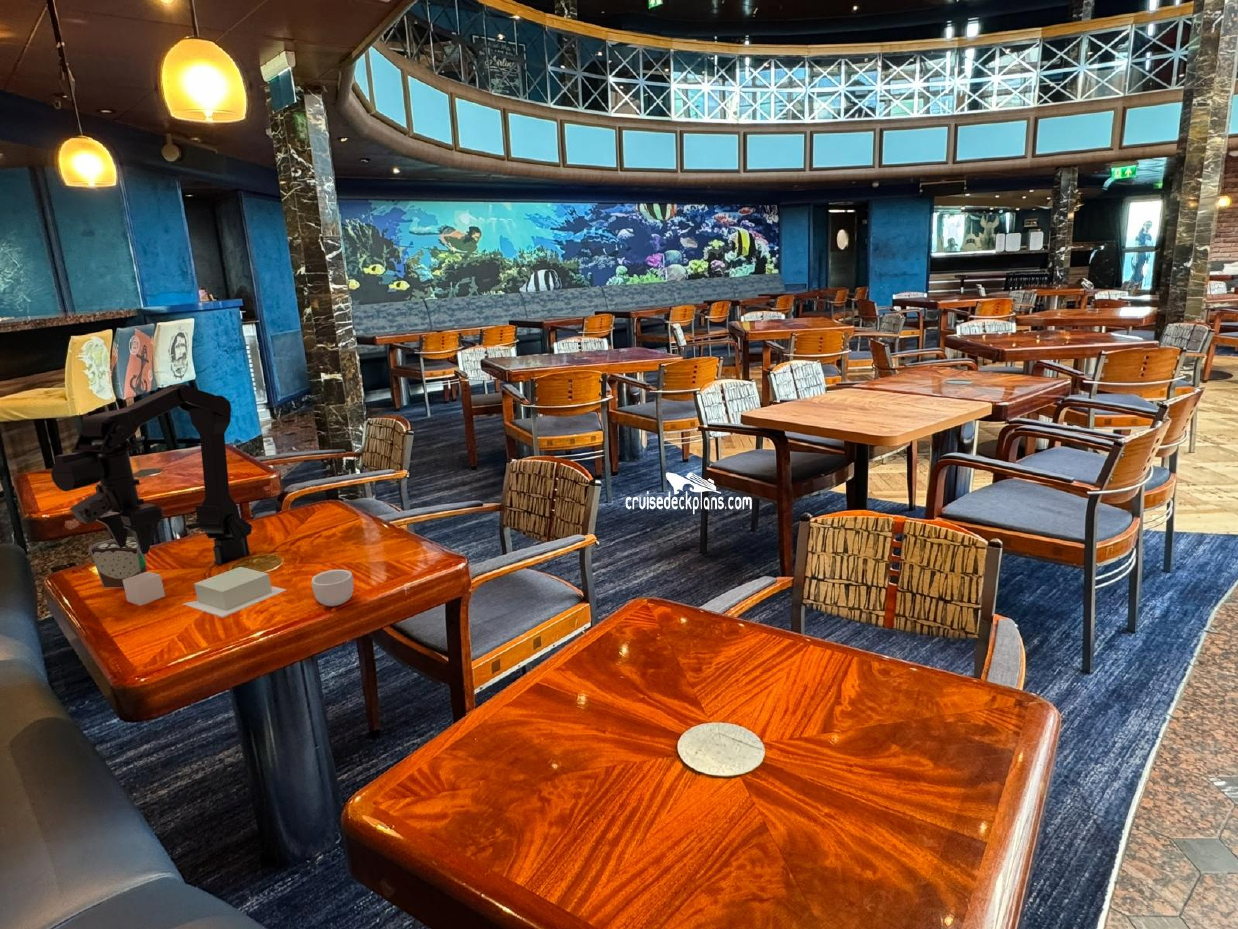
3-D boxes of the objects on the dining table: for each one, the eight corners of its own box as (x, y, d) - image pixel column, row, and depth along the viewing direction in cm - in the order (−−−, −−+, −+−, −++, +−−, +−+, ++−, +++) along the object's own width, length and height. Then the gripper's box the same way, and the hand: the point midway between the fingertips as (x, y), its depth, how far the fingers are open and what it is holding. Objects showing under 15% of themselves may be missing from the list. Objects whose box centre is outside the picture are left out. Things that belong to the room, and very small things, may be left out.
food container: (167, 577, 168) (158, 535, 165) (148, 588, 162) (139, 545, 160) (118, 577, 169) (108, 536, 167) (97, 588, 163) (86, 546, 161)
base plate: (247, 583, 161) (246, 579, 161) (287, 594, 154) (286, 589, 154) (183, 608, 150) (182, 604, 150) (223, 621, 143) (222, 616, 143)
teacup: (363, 598, 150) (360, 574, 148) (329, 613, 144) (325, 588, 143) (335, 588, 156) (331, 564, 154) (301, 601, 150) (297, 577, 148)
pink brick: (153, 597, 157) (147, 571, 155) (166, 601, 154) (160, 575, 153) (128, 606, 153) (122, 579, 151) (141, 611, 150) (135, 583, 149)
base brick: (243, 584, 159) (240, 566, 158) (272, 591, 153) (268, 573, 153) (197, 601, 150) (194, 583, 149) (226, 610, 145) (222, 591, 144)
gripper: (49, 483, 145) (68, 557, 149) (93, 492, 135) (113, 571, 139) (110, 469, 154) (127, 539, 158) (156, 477, 145) (173, 551, 148)
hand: (133, 550), depth 151 cm, fingers open, 9 cm apart
